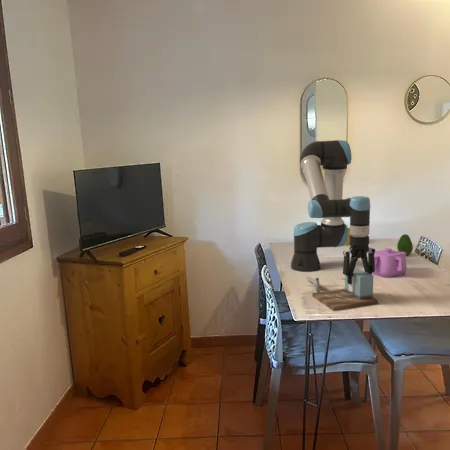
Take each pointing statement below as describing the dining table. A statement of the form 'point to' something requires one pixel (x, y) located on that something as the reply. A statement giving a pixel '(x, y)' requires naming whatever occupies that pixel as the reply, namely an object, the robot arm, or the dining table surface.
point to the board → (342, 299)
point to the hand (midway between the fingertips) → (358, 290)
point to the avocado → (405, 244)
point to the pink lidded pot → (389, 263)
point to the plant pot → (348, 238)
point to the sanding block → (361, 284)
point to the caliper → (314, 282)
